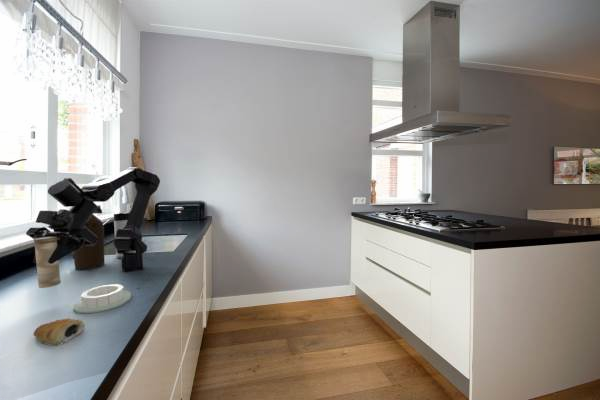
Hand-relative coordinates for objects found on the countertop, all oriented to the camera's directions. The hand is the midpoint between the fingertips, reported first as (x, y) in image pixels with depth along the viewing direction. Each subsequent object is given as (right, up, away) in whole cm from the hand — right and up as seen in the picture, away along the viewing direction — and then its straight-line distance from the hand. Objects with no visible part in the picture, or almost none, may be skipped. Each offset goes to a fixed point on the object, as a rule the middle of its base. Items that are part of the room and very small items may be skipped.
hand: (42, 262), depth 75 cm
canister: (0, -6, +2) cm, 7 cm away
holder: (+15, -12, +2) cm, 19 cm away
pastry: (+17, -13, -14) cm, 26 cm away
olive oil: (-14, -10, +36) cm, 40 cm away
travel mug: (-9, -9, +49) cm, 51 cm away
